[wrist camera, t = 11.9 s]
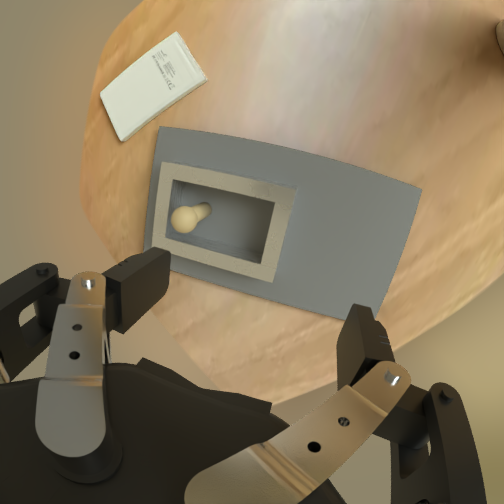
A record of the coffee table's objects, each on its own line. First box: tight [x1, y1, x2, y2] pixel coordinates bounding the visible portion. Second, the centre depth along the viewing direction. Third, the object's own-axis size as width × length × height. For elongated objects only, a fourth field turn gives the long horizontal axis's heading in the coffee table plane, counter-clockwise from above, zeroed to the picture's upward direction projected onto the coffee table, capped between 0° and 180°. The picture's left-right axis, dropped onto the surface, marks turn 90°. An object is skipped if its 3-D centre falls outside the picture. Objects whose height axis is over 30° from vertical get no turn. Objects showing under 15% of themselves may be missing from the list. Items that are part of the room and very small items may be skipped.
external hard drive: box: [100, 32, 208, 141], centre depth 27 cm, size 2×8×12 cm
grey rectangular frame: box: [152, 161, 298, 283], centre depth 28 cm, size 13×9×3 cm
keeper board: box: [143, 126, 422, 320], centre depth 26 cm, size 28×16×7 cm, turn 78°
